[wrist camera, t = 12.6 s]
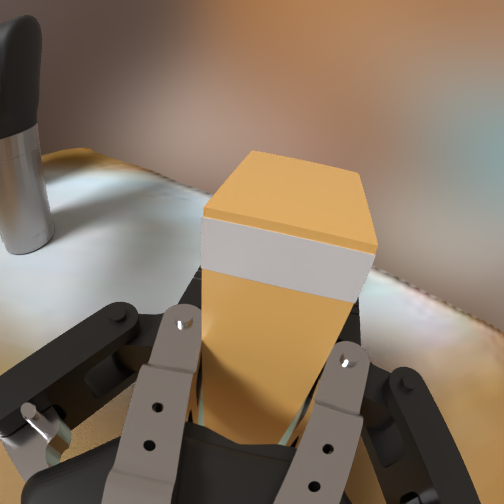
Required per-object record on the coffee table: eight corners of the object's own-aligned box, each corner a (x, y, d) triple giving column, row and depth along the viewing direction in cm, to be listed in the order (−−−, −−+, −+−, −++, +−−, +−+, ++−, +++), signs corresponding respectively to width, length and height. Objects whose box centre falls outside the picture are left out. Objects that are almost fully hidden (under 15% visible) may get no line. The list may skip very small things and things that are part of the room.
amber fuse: (204, 439, 12) (202, 207, 5) (226, 375, 16) (251, 150, 9) (270, 456, 12) (379, 246, 5) (284, 389, 15) (359, 173, 8)
